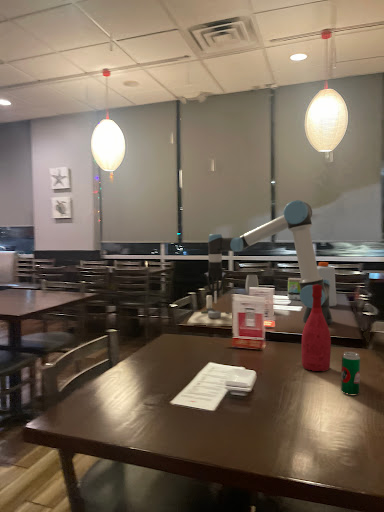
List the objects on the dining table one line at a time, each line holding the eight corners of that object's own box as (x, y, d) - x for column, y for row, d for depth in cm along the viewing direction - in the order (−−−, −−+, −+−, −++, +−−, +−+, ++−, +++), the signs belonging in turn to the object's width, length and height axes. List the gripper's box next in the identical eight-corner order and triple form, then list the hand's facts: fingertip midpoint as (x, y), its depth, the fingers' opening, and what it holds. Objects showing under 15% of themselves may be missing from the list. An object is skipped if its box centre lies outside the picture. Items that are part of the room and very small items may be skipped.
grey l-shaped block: (222, 318, 206) (222, 299, 205) (210, 318, 204) (210, 300, 204) (214, 312, 220) (214, 295, 219) (202, 313, 218) (202, 295, 217)
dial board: (239, 315, 219) (239, 311, 219) (237, 327, 194) (237, 321, 194) (194, 314, 224) (194, 309, 223) (187, 325, 198) (187, 320, 198)
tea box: (288, 299, 269) (288, 279, 268) (287, 297, 279) (287, 277, 278) (310, 300, 267) (311, 279, 266) (308, 298, 277) (309, 277, 276)
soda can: (357, 397, 111) (358, 357, 111) (339, 393, 114) (340, 354, 113) (360, 391, 116) (361, 352, 115) (342, 388, 118) (343, 350, 118)
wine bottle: (330, 364, 139) (331, 283, 137) (330, 374, 130) (332, 287, 127) (301, 361, 142) (303, 282, 140) (300, 371, 133) (301, 285, 131)
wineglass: (258, 307, 244) (258, 274, 242) (259, 310, 235) (259, 276, 234) (244, 307, 245) (244, 274, 243) (245, 309, 236) (245, 276, 235)
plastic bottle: (338, 307, 244) (339, 263, 242) (314, 307, 244) (315, 263, 242) (330, 302, 259) (331, 261, 257) (307, 302, 259) (308, 261, 257)
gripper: (226, 260, 219) (226, 301, 220) (203, 261, 220) (204, 301, 221) (226, 261, 211) (227, 304, 213) (203, 262, 212) (204, 304, 214)
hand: (215, 302), depth 217 cm, fingers closed
